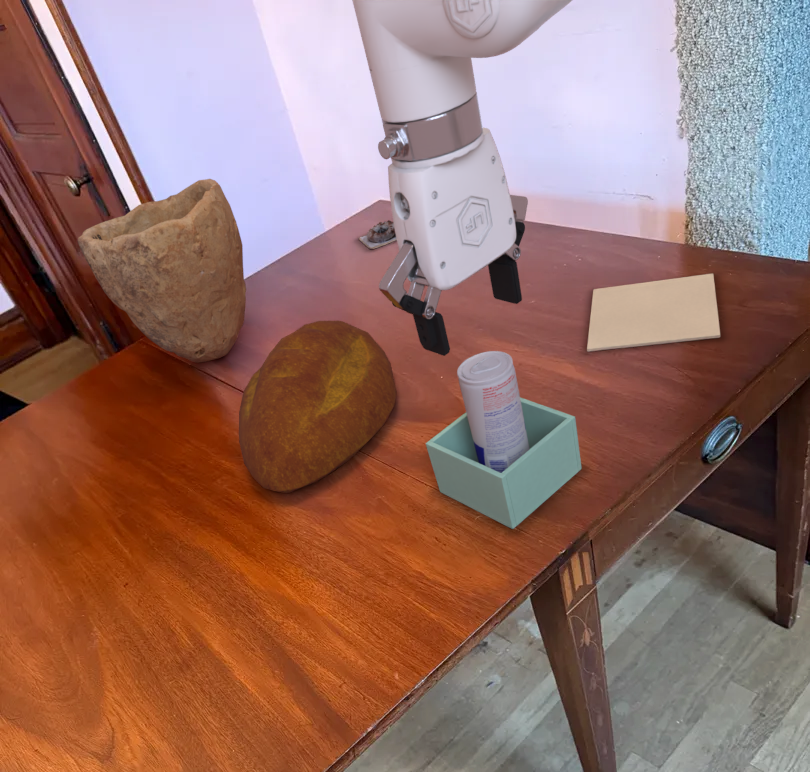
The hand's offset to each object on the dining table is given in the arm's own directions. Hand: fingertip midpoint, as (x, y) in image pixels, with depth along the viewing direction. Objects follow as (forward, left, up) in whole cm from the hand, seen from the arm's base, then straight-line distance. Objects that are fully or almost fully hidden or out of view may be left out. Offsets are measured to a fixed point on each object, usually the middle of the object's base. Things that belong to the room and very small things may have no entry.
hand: (473, 324), depth 70 cm
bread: (+27, -14, -20) cm, 36 cm away
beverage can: (0, 0, -20) cm, 20 cm away
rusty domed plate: (+34, -74, -20) cm, 84 cm away
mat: (-15, -33, -19) cm, 41 cm away
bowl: (+54, -36, -20) cm, 68 cm away
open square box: (0, 0, -19) cm, 19 cm away
